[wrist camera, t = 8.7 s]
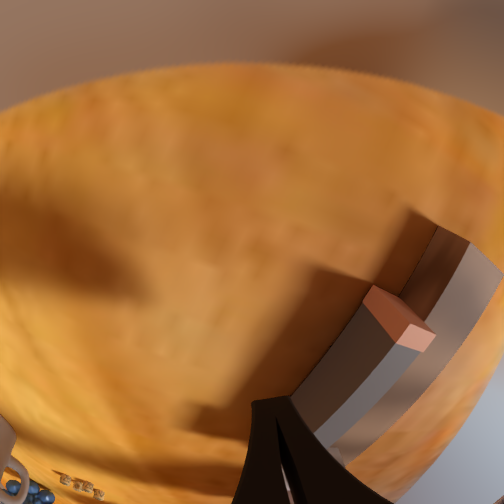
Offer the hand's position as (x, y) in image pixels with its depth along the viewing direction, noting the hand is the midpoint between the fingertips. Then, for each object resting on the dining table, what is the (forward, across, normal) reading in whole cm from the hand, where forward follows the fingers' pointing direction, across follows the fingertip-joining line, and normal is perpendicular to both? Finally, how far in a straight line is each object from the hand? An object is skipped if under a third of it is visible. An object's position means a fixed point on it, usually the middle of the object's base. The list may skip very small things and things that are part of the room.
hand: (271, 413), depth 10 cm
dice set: (+8, +24, +26) cm, 36 cm away
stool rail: (+7, -7, +6) cm, 11 cm away
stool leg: (+6, -4, +6) cm, 10 cm away
